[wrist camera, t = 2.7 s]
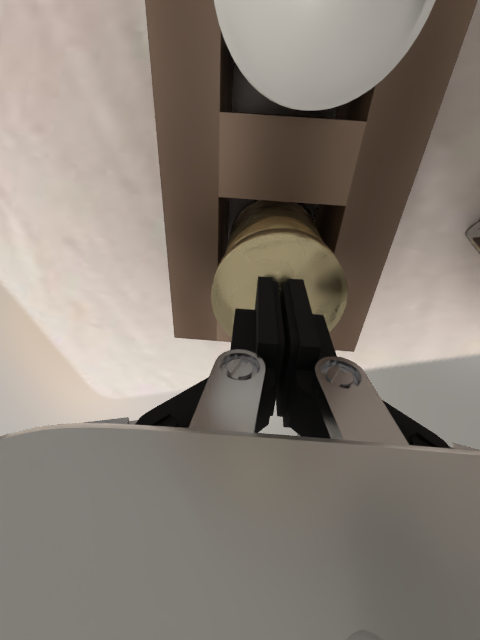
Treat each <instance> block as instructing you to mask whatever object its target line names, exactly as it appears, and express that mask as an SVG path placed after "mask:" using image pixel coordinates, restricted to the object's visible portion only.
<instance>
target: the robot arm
mask: <svg viewBox="0 0 480 640" xmlns="http://www.w3.org/2000/svg"><path fill="white" fill-rule="evenodd" d="M275 401H276V406H277V416H280V417H281V416H282V417H283V426H284V427H290V428H292V429H293V430H294V431H296V432H297V433H298V434H297V436H289V435H276V434H262V433H258V432H259V431H260V430H262V429H263V428H264V427H266V426H267V425H268V424H269V418H270V416H272V415H273V412H274V406H275ZM0 640H480V450H478V449H474V448H471V447H467V446H463V445H459V444H456V443H452V444H451V446H448V445H447V443H446V442H445V441H444V440H442V439H441V438H440V437H438V436H437V435H436V434H434V433H433V432H431V431H430V430H428V429H426V428H425V427H423V426H422V425H420V424H419V423H417V422H416V421H414V420H412V419H411V418H409V417H408V416H406V415H404V414H403V413H402V412H400V411H398V410H397V409H395V408H394V407H392V406H391V405H389V404H388V403H386V402H384V401H383V400H381V398H380V396H379V395H378V393H377V391H376V390H375V388H374V386H373V385H372V383H371V382H370V380H369V378H368V377H367V375H366V373H365V372H364V371H363V370H362V368H361V367H360V366H358V365H357V364H356V363H354V362H352V361H350V360H348V359H345V358H342V357H337V356H336V353H335V350H334V346H333V343H332V340H331V337H330V334H329V331H328V328H327V324H326V321H325V318H324V316H323V315H320V314H312V310H311V306H310V302H309V299H308V295H307V291H306V287H305V284H304V280H303V279H288V281H287V282H282V285H281V291H280V294H279V285H278V282H277V281H273V277H261V276H258V281H257V291H256V301H255V310H252V309H238V308H236V309H235V316H234V325H233V333H232V341H231V350H229V351H227V352H224V353H223V354H221V355H220V356H219V357H218V358H217V360H216V361H215V364H214V366H213V368H212V371H211V373H210V376H209V377H208V378H206V379H205V380H203V381H201V382H199V383H198V384H196V385H194V386H192V387H191V388H189V389H187V390H185V391H184V392H182V393H180V394H178V395H177V396H175V397H173V398H171V399H170V400H168V401H166V402H164V403H163V404H161V405H159V406H157V407H155V408H154V409H152V410H151V411H149V412H147V413H146V414H144V415H143V416H141V417H140V418H139V420H137V421H129V418H128V417H127V418H120V419H111V420H102V421H94V422H85V423H74V424H58V425H51V426H44V427H36V428H31V429H27V430H23V431H19V432H14V433H10V434H6V435H3V436H0Z"/></svg>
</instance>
